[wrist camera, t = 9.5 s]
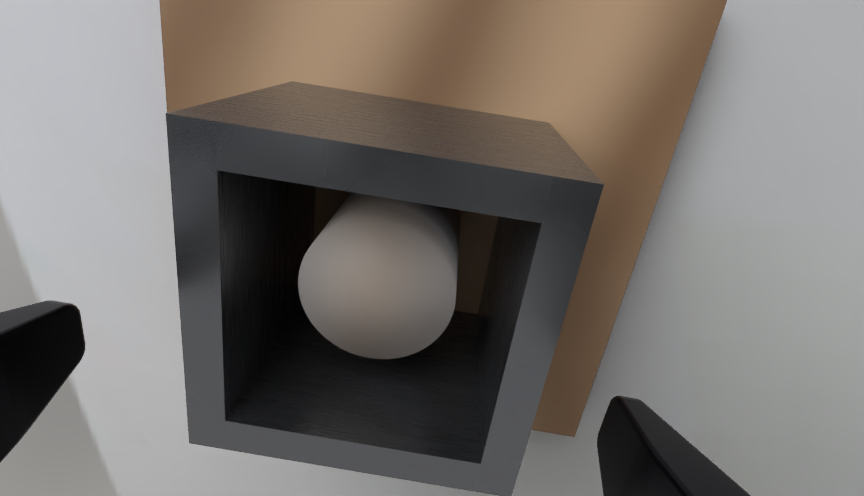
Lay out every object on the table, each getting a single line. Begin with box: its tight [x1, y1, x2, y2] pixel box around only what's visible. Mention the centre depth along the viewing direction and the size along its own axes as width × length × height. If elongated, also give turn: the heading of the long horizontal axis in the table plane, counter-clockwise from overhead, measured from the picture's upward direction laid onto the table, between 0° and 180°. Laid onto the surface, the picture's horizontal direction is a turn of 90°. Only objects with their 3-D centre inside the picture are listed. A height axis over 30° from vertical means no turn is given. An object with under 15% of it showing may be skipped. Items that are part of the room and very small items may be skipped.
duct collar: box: [166, 81, 604, 496], centre depth 12 cm, size 7×7×6 cm
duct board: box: [160, 0, 727, 437], centre depth 13 cm, size 14×14×6 cm
